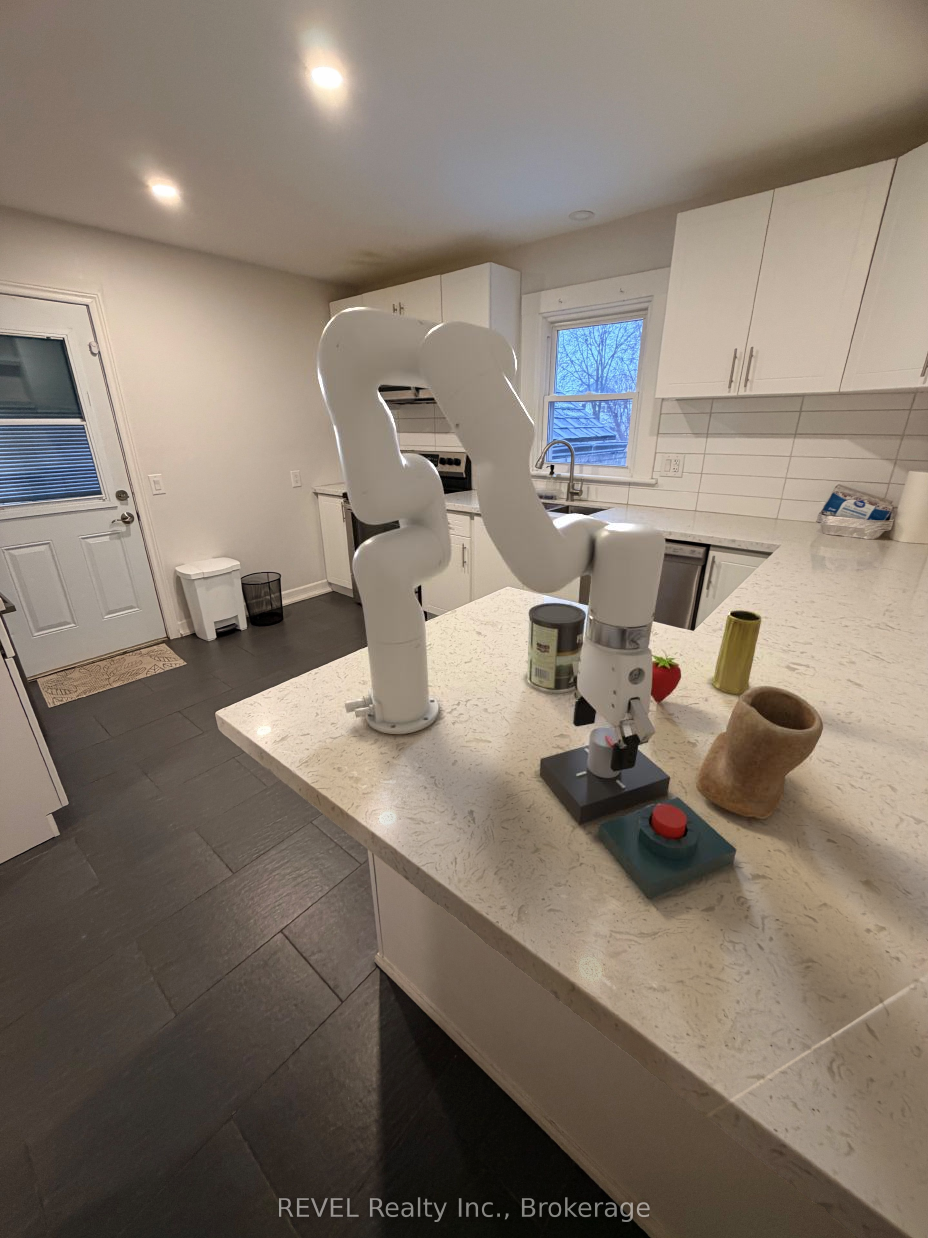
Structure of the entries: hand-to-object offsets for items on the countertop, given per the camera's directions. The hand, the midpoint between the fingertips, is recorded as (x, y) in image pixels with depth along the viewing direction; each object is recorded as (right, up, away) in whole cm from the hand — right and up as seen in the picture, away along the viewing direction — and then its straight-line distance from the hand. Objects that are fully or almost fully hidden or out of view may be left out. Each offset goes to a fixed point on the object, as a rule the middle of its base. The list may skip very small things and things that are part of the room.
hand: (601, 744), depth 66 cm
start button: (+5, -7, -10) cm, 13 cm away
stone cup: (+20, -6, +1) cm, 21 cm away
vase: (+31, +4, +26) cm, 41 cm away
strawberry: (+16, +2, +22) cm, 27 cm away
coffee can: (-1, +5, +29) cm, 30 cm away
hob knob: (+1, -3, +1) cm, 4 cm away
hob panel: (+1, -6, +2) cm, 7 cm away
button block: (+5, -10, -8) cm, 14 cm away
